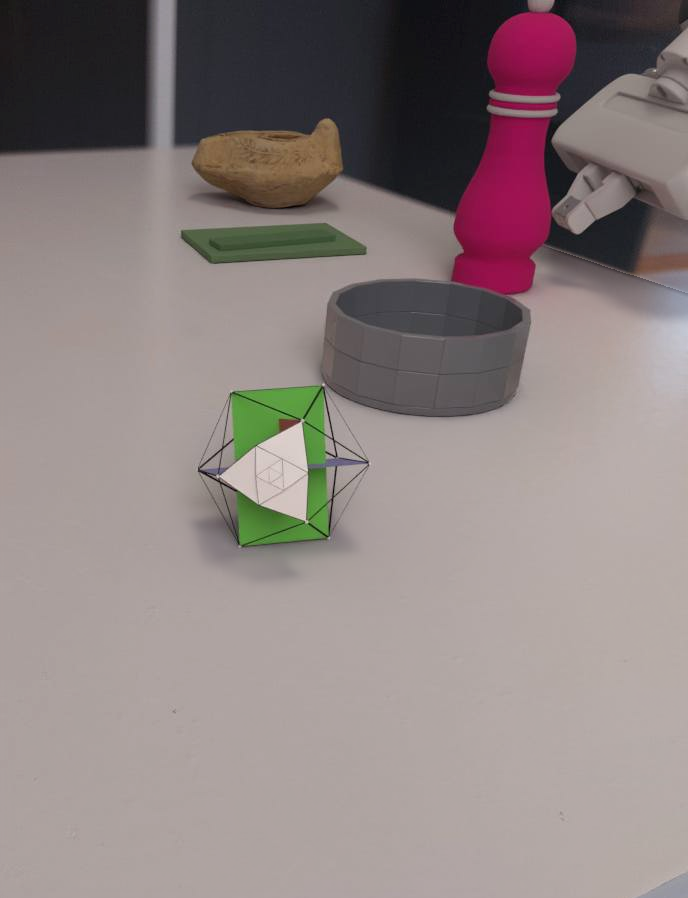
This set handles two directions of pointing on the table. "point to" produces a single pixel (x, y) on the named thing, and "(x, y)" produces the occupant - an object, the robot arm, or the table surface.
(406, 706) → the table surface
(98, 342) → the table surface
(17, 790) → the table surface
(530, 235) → the pepper mill
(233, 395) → the geometric puzzle
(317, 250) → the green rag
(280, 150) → the oil lamp
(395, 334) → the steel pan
